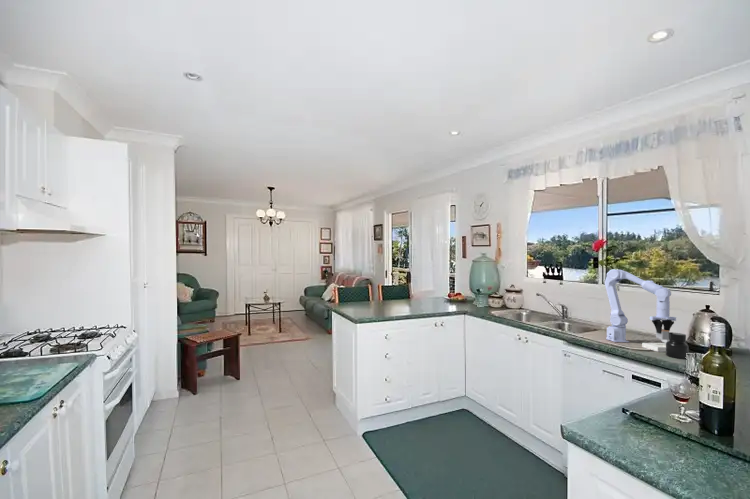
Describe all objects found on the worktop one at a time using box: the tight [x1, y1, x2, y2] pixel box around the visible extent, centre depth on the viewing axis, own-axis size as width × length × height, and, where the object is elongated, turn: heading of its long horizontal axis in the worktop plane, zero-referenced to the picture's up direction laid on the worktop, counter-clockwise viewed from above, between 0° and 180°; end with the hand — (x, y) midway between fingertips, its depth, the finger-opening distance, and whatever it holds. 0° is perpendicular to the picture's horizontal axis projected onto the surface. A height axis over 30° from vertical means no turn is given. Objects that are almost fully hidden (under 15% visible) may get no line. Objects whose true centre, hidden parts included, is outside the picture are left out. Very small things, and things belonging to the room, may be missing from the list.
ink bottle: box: [665, 331, 690, 360], centre depth 180 cm, size 10×9×12 cm
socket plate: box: [641, 342, 666, 353], centre depth 195 cm, size 16×10×3 cm, turn 95°
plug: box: [655, 328, 670, 340], centre depth 197 cm, size 4×4×5 cm
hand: (662, 333), depth 197 cm, fingers closed on plug, 4 cm apart
